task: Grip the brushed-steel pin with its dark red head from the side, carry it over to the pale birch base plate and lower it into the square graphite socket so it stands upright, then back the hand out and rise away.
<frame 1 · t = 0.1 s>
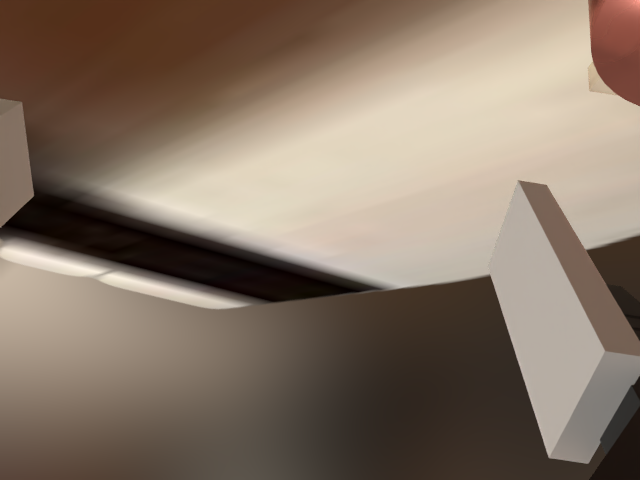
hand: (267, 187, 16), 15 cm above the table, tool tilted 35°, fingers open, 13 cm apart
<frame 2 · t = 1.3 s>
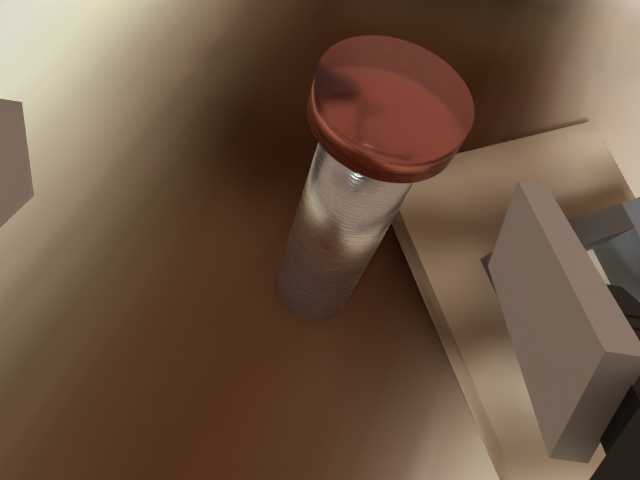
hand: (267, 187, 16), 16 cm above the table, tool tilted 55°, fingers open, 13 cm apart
pin: (312, 286, 31), on the table, tilted 12°
socket: (561, 316, 35), on the table
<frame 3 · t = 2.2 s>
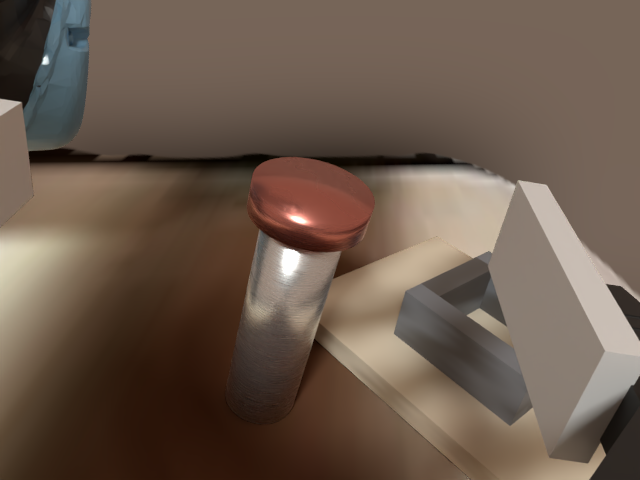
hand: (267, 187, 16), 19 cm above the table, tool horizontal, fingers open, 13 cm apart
pin: (259, 395, 34), on the table, tilted 5°
socket: (483, 365, 39), on the table
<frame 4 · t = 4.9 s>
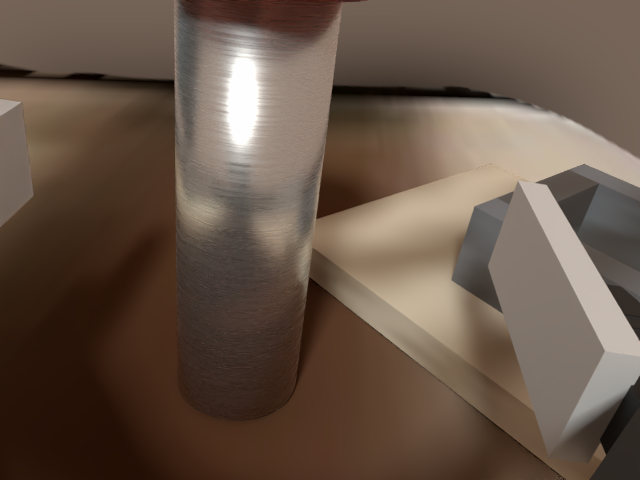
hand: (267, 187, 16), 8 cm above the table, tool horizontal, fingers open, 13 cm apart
pin: (237, 375, 20), on the table
socket: (588, 330, 25), on the table
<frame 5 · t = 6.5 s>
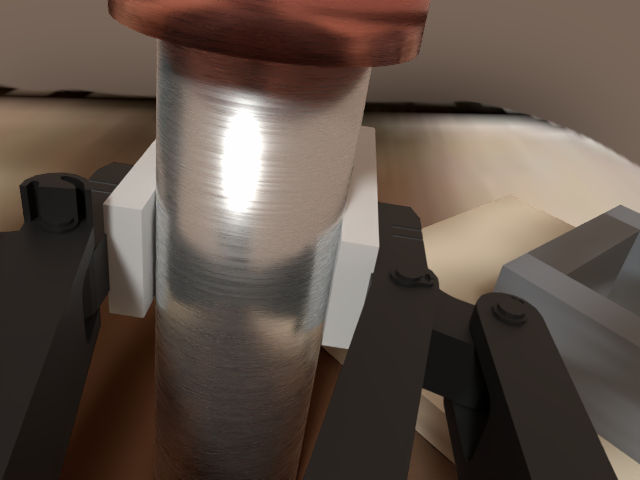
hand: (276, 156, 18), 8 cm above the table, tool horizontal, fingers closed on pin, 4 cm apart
pin: (226, 473, 17), on the table, touching gripper
socket: (629, 400, 22), on the table
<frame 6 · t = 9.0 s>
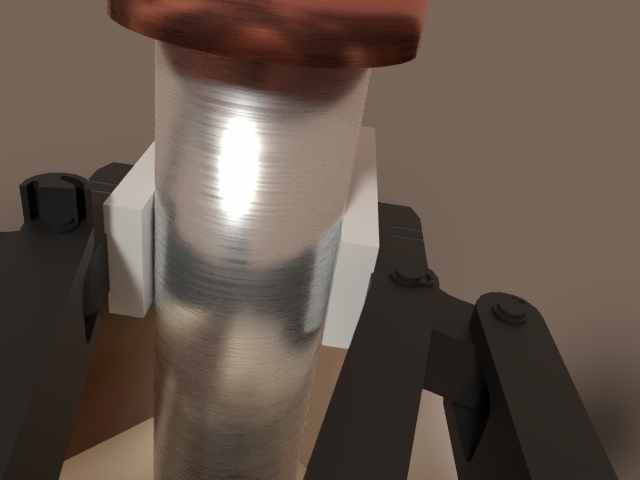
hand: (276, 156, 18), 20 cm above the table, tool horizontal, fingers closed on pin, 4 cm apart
pin: (225, 475, 17), point 12 cm above the table, touching gripper
when the fingers open (11 cm above the table, at t = 11.5 s): pin drops 1 cm, resting on socket.
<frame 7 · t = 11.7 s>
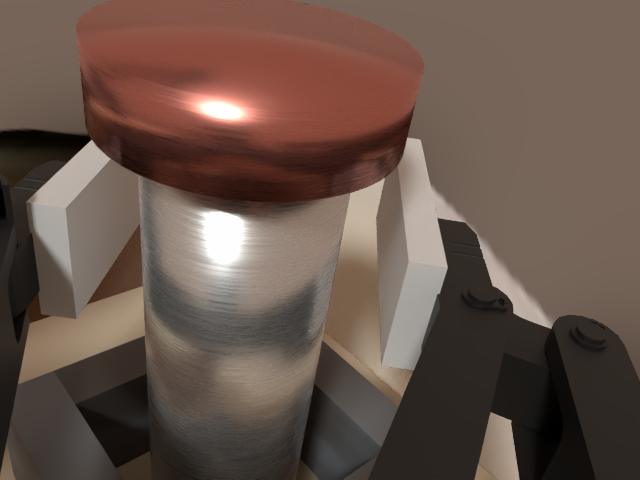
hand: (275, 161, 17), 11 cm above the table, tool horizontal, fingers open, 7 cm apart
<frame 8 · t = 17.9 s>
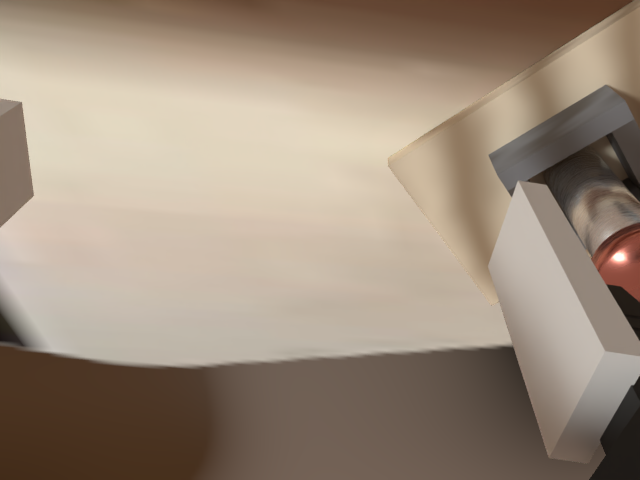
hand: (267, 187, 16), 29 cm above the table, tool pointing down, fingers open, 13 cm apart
pin: (571, 168, 44), point 2 cm above the table, touching socket
socket: (566, 160, 45), on the table
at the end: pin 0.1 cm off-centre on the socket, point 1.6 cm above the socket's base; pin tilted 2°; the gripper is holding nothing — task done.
